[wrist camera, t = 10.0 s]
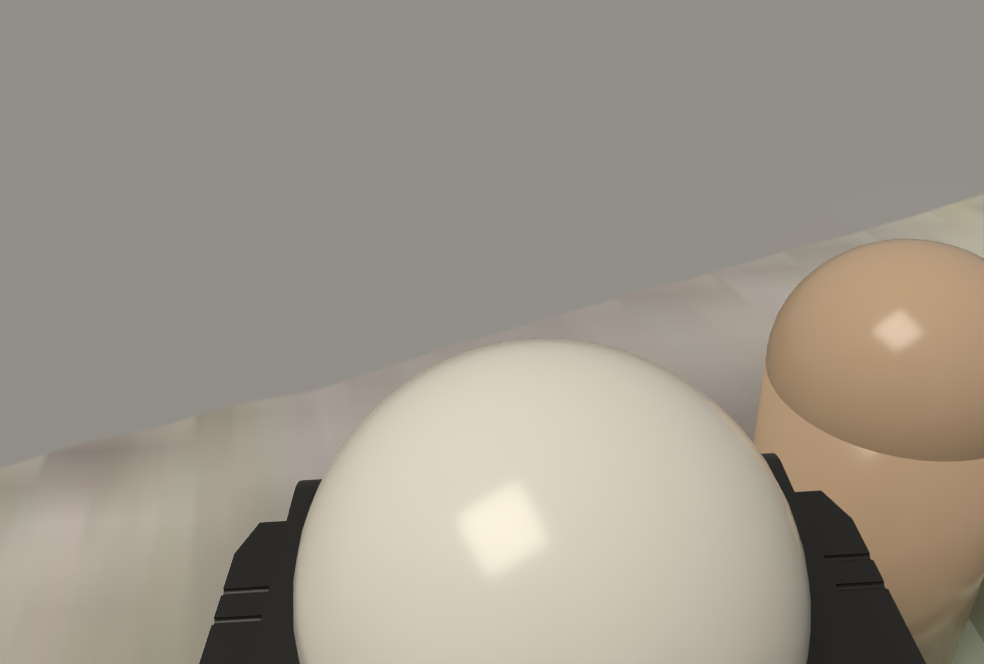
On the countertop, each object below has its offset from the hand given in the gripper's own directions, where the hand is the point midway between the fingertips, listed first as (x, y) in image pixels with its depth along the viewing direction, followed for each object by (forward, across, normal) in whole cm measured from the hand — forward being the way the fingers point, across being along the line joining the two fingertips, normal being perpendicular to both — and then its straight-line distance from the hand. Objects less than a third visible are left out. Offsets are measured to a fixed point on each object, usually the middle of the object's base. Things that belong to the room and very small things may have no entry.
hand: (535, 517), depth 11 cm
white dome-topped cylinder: (-3, 0, +6) cm, 7 cm away
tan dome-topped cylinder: (+5, -7, +9) cm, 12 cm away
